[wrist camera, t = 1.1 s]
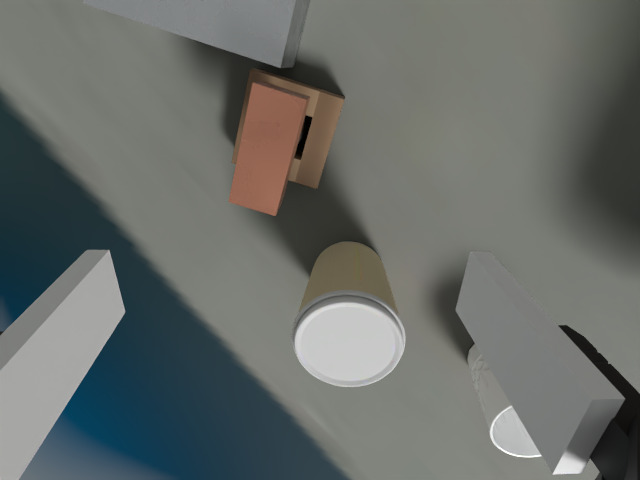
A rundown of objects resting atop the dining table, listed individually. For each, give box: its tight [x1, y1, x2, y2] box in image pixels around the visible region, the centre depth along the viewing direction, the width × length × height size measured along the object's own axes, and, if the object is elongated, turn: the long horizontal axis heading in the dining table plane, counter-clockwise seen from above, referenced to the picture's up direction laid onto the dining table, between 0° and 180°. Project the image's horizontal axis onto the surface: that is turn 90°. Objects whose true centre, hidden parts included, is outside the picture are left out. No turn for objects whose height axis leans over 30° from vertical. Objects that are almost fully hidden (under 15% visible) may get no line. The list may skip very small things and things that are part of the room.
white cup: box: [467, 344, 541, 457], centre depth 40 cm, size 8×8×10 cm
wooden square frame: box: [232, 69, 345, 189], centre depth 34 cm, size 8×8×3 cm
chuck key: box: [229, 81, 310, 216], centre depth 30 cm, size 3×8×12 cm, turn 164°
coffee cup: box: [292, 241, 405, 387], centre depth 36 cm, size 9×9×12 cm
